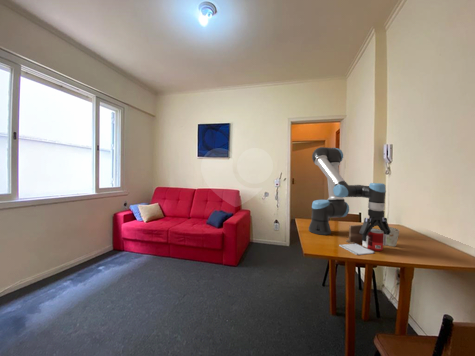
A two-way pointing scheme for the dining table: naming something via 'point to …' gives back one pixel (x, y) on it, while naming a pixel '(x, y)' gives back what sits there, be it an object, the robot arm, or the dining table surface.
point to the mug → (392, 237)
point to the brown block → (355, 234)
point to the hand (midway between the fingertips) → (374, 245)
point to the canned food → (375, 240)
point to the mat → (357, 249)
